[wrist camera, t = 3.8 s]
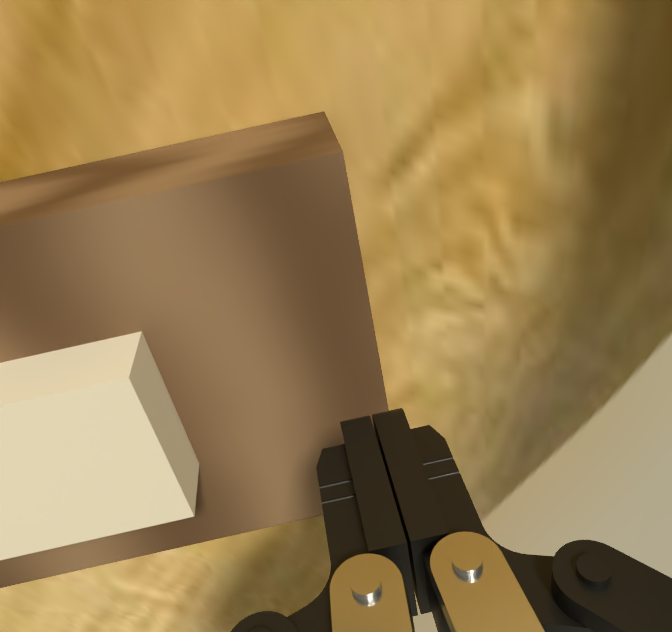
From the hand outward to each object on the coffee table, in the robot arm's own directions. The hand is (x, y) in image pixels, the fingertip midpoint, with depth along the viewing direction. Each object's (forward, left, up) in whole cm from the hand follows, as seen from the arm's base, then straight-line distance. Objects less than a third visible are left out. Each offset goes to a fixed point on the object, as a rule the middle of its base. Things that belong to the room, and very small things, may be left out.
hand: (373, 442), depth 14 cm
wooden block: (+7, 0, -7) cm, 10 cm away
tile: (+9, 0, -3) cm, 9 cm away
